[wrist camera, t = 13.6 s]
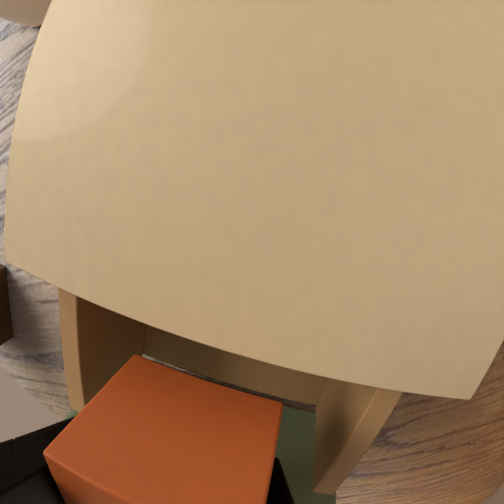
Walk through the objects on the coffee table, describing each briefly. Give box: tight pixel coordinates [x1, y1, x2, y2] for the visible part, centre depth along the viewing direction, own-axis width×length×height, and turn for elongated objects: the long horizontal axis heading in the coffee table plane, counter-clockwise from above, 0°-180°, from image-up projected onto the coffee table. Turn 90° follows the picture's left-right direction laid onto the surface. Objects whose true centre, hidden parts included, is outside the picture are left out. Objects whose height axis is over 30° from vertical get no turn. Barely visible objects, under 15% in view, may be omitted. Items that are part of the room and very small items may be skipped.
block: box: [43, 355, 283, 504], centre depth 6 cm, size 4×4×4 cm
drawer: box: [59, 288, 404, 504], centre depth 11 cm, size 23×11×6 cm, turn 167°
